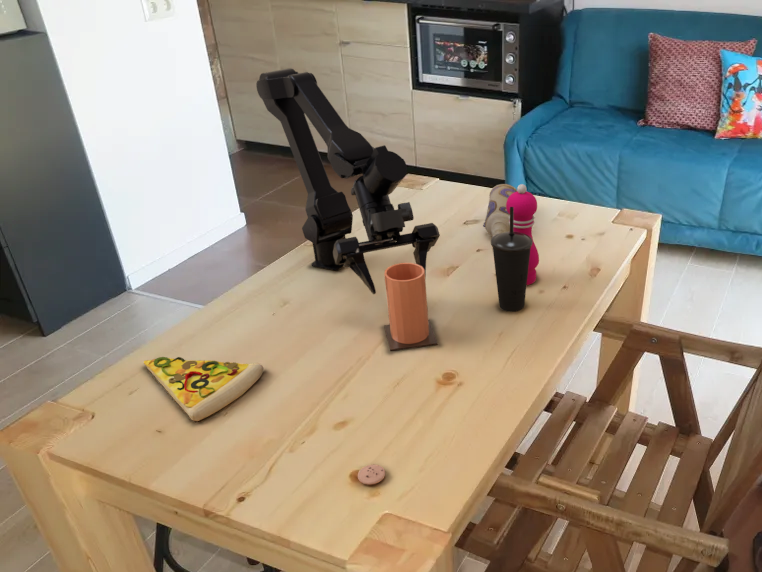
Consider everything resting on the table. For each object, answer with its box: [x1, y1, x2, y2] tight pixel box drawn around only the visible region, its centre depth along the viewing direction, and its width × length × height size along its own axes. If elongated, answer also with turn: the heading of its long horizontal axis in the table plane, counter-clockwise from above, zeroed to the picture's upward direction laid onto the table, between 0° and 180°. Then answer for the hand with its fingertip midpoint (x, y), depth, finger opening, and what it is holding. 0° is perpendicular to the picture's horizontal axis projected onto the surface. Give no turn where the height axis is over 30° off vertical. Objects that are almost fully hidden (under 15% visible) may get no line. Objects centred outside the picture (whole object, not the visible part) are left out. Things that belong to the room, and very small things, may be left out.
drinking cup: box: [490, 207, 534, 313], centre depth 139 cm, size 8×8×20 cm
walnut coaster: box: [383, 319, 438, 352], centre depth 136 cm, size 8×8×1 cm
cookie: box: [357, 463, 386, 486], centre depth 105 cm, size 4×4×1 cm
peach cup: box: [383, 262, 429, 344], centre depth 132 cm, size 7×7×12 cm
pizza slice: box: [143, 356, 265, 422], centre depth 123 cm, size 16×21×3 cm
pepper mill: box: [506, 183, 540, 286], centre depth 148 cm, size 7×7×20 cm
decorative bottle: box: [482, 183, 517, 237], centre depth 170 cm, size 26×8×7 cm, turn 177°
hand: (399, 288), depth 134 cm, fingers open, 9 cm apart
